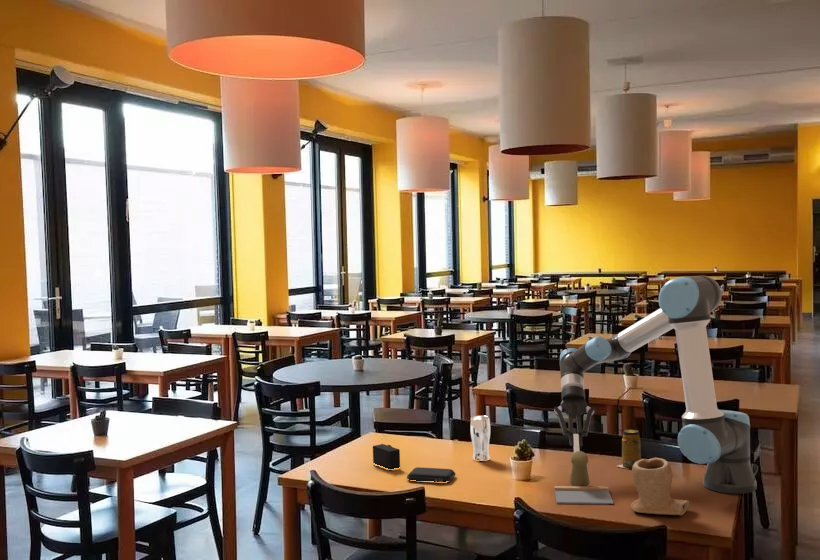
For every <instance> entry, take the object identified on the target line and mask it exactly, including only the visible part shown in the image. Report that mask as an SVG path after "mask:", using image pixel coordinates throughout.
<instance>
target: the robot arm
mask: <svg viewBox="0 0 820 560" xmlns="http://www.w3.org/2000/svg"><path fill="white" fill-rule="evenodd" d="M721 301H722V289H721V287H720V285H719V283H718V282H717V281H716V280H715V279H713V278H712V277H710V276H707V275H692V276H691V275H689V276H680V277H679V276H678V277H675V278H671V279H670V280H668V281H666V282H665V283H664V284H663V285H662V287H661V288H660V291H659V293H658V306H659V308H658V309H656V310H655V311H653V312H651V313H649V314H647V315H646V316H645V317H643V318H641V319H640V320H638V321H636V322H635V323H633V324H632V325H630V326H628V327H627V328H625V329H623V330H622V331H620V332H618V333H617V334H615V335H612V337H609V338H605V337H602V336H599V335H597V336H595V337H593V338H591V339H589V340H588V341H586V342H585V343H584V344H583V345H582V346H580V347H579V348H573V347H571V348H570V347H569V348H567V349H566V348H565V349H564V350H562V351H561V352H560V355H559V369H560V371H559V372H560V390H561V394H560V395H561V402H560V405H559V406H554V408H553V410H554V411H553V413H554V414H555V416H556V417H557V420H558V422H559V426H560V428H561V429H560V430H561V432H562V435H563V436H564V437H568V438H569V446H571V447H573V453H575V452H577V451H580V447H583V437H588V435H589V429H590V423H591V420H592V416H593V415H594V414H595V407H594V406H591V407H590V406H588V403H587V401H586V391H585V379H584V373H585V372H587V371H589V370H590V369H592V368H593V367H594V366H596V365H599V364H603V363H608V362H613V361H622V360H624V359H626V358H628V357H630V355H631V354H632V352H634V351H636V350H638V349H639V348H641V347H643V346H644V345H646V344H648V343H651V342H652V341H653V340H655V339H657V338H659V337H660V336H662V335H664V334H666V333H668V332H669V331H671V330H673V329H674V330H675V339H676V343H677V344H676V346H677V352H678V358H679V359H678V360H679V368H680V373H681V380H682V387H683V388H682V389H683V394H684V403H685V408H686V409H685V412H684V413H683V414H682V415H681V420H682V428H681V429H680V431H679V432H678V434H677V444H678V445H677V446H678V447H679V450H680V451H681V453H682V455H683V456H684V457H686V458H687V459H688V460H689V461H691V462H692V463H695V464H700V465H705V464H706V467H705V468H706V469H705V472H704V474H703V476H702V485H703V487H704V488H706V489H709V490H711V491H714V492H719V493H724V494H725V493H726V494H735V495H736V494H737V495H738V494H740V495H741V494H749V493H754V492H755V491H757V489H758V488H757V487H758V486H757V483H758V482H757V480H756V477H755V473H754V470H753V467H752V465H751V447H750V446H751V424H750V416H749V415H748V414H747V413H744V412H742V411H741V412H740V411H735V410H727V409H726V410H725V409H719V408H718V405H717V397H716V390H715V384H714V377H713V376H714V375H713V369H712V368H713V367H712V362H711V361H712V360H711V354H710V348H709V339H708V338H709V337H708V333H707V325H708V324H709V323H710V321H711V315H710V314H711V312H713V311H714V310H716V309H717V308H718V307H719V305H720V303H721ZM562 412H564V414H565V415H567V418H568V419H567V421H568V422H567V423H568V427H567V425H566V421H565V418H564V416H563V415H564V414H563V413H562ZM585 412H586V414H587V415H586V418H585V424H584V428H582V415H583V414H584V413H585ZM574 417H576V429H577V432H576V433H574V420H573V419H574Z"/></svg>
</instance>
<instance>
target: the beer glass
mask: <svg viewBox="0 0 820 560" xmlns="http://www.w3.org/2000/svg"><path fill="white" fill-rule="evenodd" d="M470 439H471V443H472V448H473V450H472V451H473V452H472V453H473V454H472V459H474V460H479V461H485V460H489V459H490V458H491V457H490V452H489V447H490V446H489V445H490V441H491V440H490V439H491V422H490V416H488V415H474V416H473V415H472V416H471V417H470ZM489 461H490V460H489Z"/></svg>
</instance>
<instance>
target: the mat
mask: <svg viewBox="0 0 820 560" xmlns="http://www.w3.org/2000/svg"><path fill="white" fill-rule="evenodd" d="M553 488H554V489H553V490H554V491H553V492H554V495H555V501H556V504H557V505H609V504H614V500H613V498H612V496H611V493H610V491H609V486H608V485H607V486H604V485H603V486H600V485H599V486H598V485H597V486H595V485H594V486H593V485H588V486H572V485H567V486H566V485H554V487H553Z"/></svg>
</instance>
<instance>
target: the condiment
mask: <svg viewBox="0 0 820 560" xmlns="http://www.w3.org/2000/svg"><path fill="white" fill-rule="evenodd" d="M622 434H623V435H622V439H621V460H622V461H621V463H622V464H618V465H617V467H619V468H623V469H629V468H630V469H629V470H632V467H633V465H634V463H635V462H637V461H639V460H641V459H642V452H641V451H642V450H641V449H642V448H641V447H642V446H641V445H642V444H641V443H642V442H641V439H640V431H639V430H637V429H624V430H623V431H622Z"/></svg>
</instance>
